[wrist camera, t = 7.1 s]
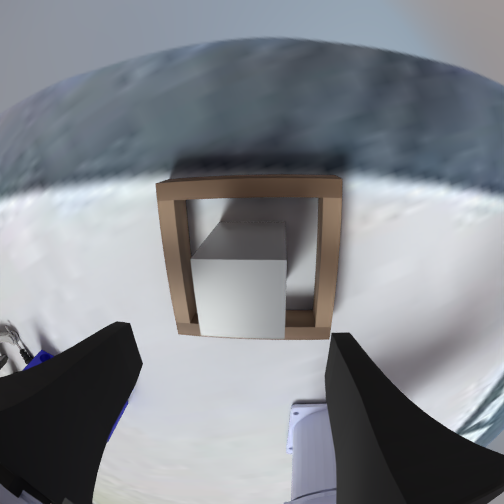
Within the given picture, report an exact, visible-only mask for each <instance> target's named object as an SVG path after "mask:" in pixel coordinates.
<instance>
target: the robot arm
mask: <svg viewBox="0 0 504 504" xmlns="http://www.w3.org/2000/svg"><path fill="white" fill-rule="evenodd" d="M142 365H143V363H142V360H141V357H140V354H139V351H138V347H137V344H136V341H135V338H134V335H133V331H132V328H131V325H130V323H125V322H118V321H117V322H115V323H112V324H110V325H109V326H107V327H105V328H103V329H101V330H100V331H98V332H96V333H95V334H93V335H91V336H90V337H88V338H86V339H84V340H83V341H81V342H79V343H78V344H76V345H74V346H73V347H71V348H69V349H67V350H65V351H64V352H62V353H60V354H58V355H56V356H54V357H53V358H51V359H49V360H47V361H44V362H42V363H40V364H38V365H36V366H33V367H31V368H28V369H26V370H23V371H20V372H17V373H14V374H11V375H8V376H4V377H0V504H50V503H51V504H92V499H93V492H94V486H95V482H96V477H97V472H98V469H99V465H100V462H101V458H102V455H103V452H104V449H105V446H106V443H107V440H108V437H109V435H110V433H111V431H112V428H113V426H114V424H115V422H116V421H117V419H118V417H119V415H120V413H121V411H122V409H123V407H124V406H125V404H126V402H127V400H128V398H129V396H130V394H131V392H132V390H133V388H134V386H135V384H136V382H137V379H138V376H139V374H140V371H141V368H142ZM325 390H326V404H295V405H293V406H291V412H290V421H289V430H288V439H287V447H286V453H287V454H293V455H292V488H291V501H290V502H284V504H487V503H489V502H490V501H491V500H493V499H494V498H496V497H497V496H498V495H500V494H501V493H502V492H504V455H503V454H500V453H498V452H495V451H492V450H490V449H487V448H485V447H482V446H480V445H478V444H475V443H473V442H471V441H469V440H468V439H466V438H464V437H462V436H460V435H458V434H456V433H455V432H453V431H451V430H450V429H448V428H447V427H445V426H444V425H442V424H441V423H439V422H438V421H436V420H435V419H433V418H432V417H430V416H429V415H428V414H426V413H425V412H424V411H423V410H421V409H420V408H419V407H418V406H417V405H415V404H414V403H413V402H412V401H411V400H409V399H408V398H407V397H406V396H405V395H404V394H403V393H402V392H401V391H400V390H399V389H398V388H397V387H396V386H395V385H394V384H393V383H392V382H391V381H390V380H389V379H388V378H387V377H386V376H385V375H384V373H383V372H382V371H381V370H380V369H379V368H378V367H377V366H376V364H375V363H374V362H373V361H372V360H371V358H370V357H369V356H368V355H367V354H366V352H365V351H364V350H363V349H362V347H361V346H360V345H359V344H358V342H357V341H356V340H355V338H354V337H353V336H352V335H351V334H350V333H332V335H331V342H330V348H329V354H328V360H327V366H326V372H325Z"/></svg>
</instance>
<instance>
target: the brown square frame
mask: <svg viewBox="0 0 504 504" xmlns="http://www.w3.org/2000/svg"><path fill="white" fill-rule="evenodd" d="M156 193H157V203H158V212H159V220H160V228H161V236H162V243H163V251H164V257H165V264H166V270H167V276H168V282H169V288H170V294H171V299H172V305H173V310H174V315H175V320H176V325H177V330H178V334H181V335H192V336H201V332H200V326H199V319H198V313H197V306H196V299H195V292H194V284H193V276H192V268H191V260H190V259H191V249H190V240H189V231H188V221H187V210H186V200H188V199H212V198H252V197H316V198H318V231H317V254H316V272H315V288H314V301H313V310H286V311H285V339H270V340H324V339H329V337H330V330H331V323H332V315H333V307H334V299H335V290H336V280H337V269H338V258H339V245H340V230H341V210H342V179H341V178H340V177H338V176H336V175H304V174H268V175H230V176H208V177H192V178H178V179H168V180H165V181H162V182H159V183H156ZM205 337H215V336H205ZM220 338H233V337H220ZM239 339H256V338H239Z"/></svg>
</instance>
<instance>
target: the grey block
mask: <svg viewBox="0 0 504 504" xmlns="http://www.w3.org/2000/svg"><path fill="white" fill-rule="evenodd" d="M190 260H191V268H192V276H193V284H194V292H195V299H196V306H197V313H198V319H199V326H200V332H201V336H215V337H233V338H256V339H285V311H286V271H287V255H286V229H285V222H219V223H218V224H217V226H216V227H215V228H214V229H213V231H212V232H211V233H210V235H209V236H208V237H207V238H206V240H205V241H204V242H203V243H202V245H201V246H200V247H199V249H198V250H197V251H196V252H195V254H194V255H193V256H192V258H191V259H190Z"/></svg>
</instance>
